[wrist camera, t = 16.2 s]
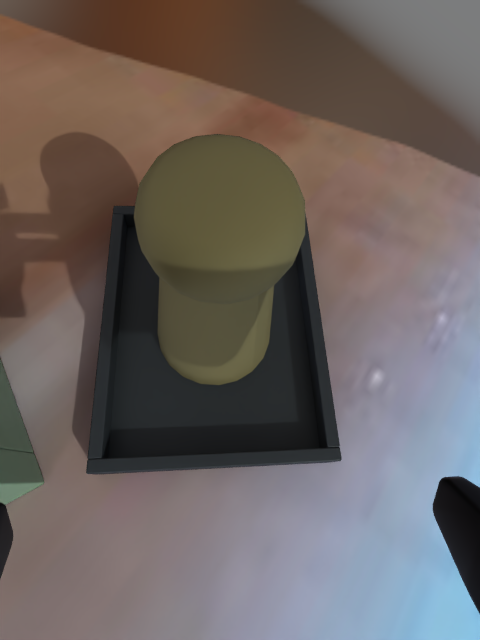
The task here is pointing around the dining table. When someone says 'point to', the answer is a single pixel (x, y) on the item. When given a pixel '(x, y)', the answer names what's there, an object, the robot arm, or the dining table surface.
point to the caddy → (14, 449)
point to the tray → (203, 399)
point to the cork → (218, 250)
